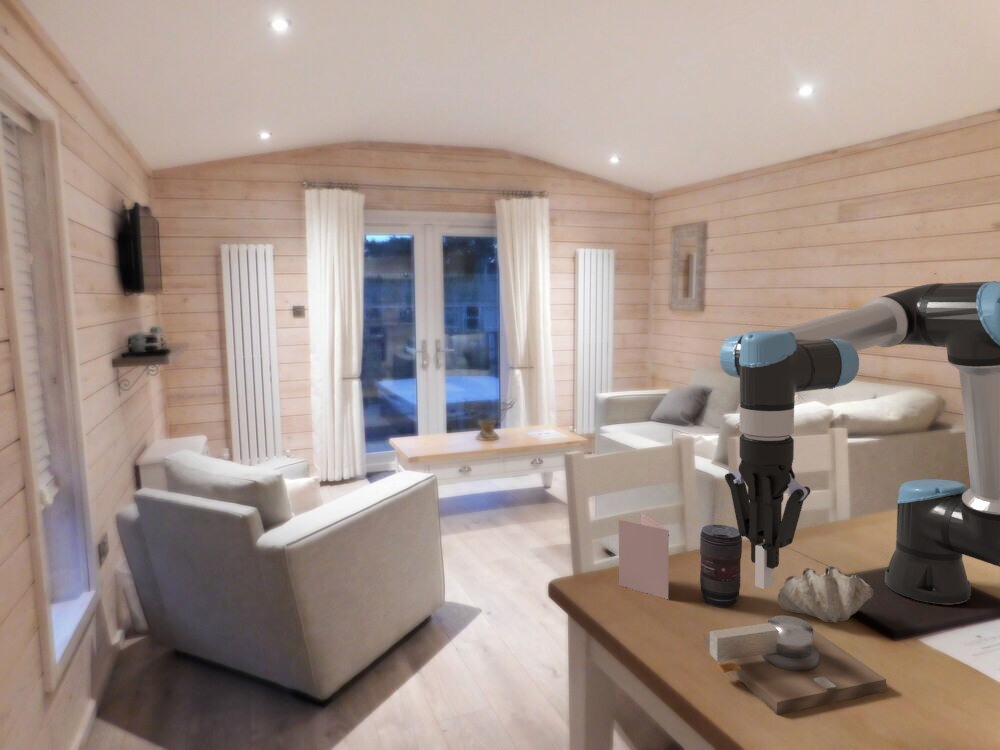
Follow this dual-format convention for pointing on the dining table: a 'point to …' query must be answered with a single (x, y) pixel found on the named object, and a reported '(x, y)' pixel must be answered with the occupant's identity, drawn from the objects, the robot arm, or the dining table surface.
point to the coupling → (763, 639)
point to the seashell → (824, 594)
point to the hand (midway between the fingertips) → (764, 584)
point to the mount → (804, 676)
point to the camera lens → (720, 564)
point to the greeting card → (644, 556)
